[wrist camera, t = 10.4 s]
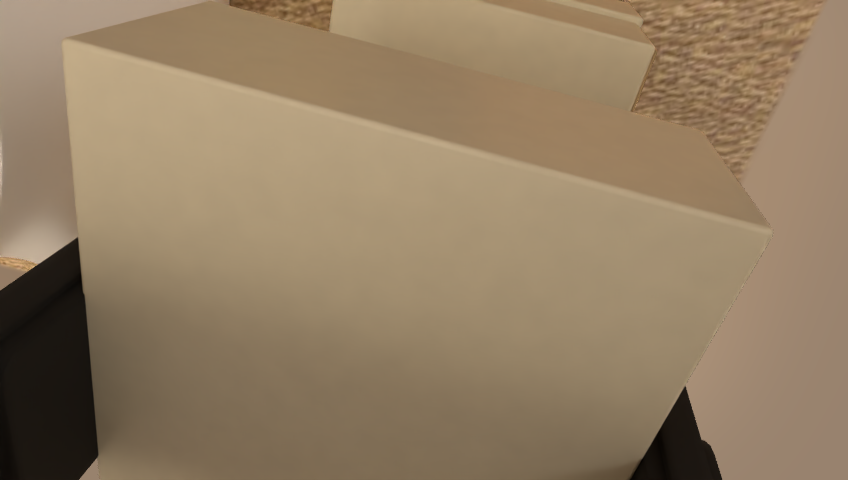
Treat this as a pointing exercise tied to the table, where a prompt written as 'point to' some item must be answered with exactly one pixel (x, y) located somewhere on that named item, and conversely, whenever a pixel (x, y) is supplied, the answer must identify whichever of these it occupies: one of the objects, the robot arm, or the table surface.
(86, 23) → the mug
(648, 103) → the table surface
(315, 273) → the ivory book
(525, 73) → the ivory books
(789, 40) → the table surface
